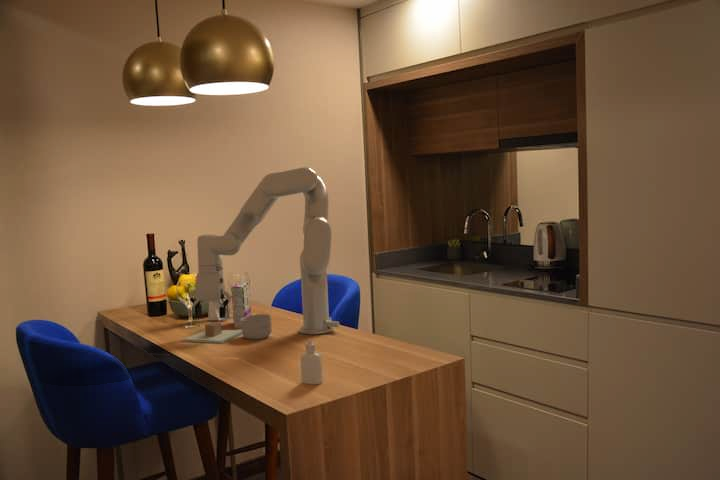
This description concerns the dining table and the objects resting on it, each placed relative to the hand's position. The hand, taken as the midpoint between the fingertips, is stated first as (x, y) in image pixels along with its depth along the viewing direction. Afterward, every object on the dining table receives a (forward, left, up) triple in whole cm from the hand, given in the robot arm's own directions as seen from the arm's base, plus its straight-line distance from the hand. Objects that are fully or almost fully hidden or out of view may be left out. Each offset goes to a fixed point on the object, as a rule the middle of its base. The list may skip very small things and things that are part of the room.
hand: (210, 316), depth 228 cm
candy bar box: (-2, -20, -8) cm, 22 cm away
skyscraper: (+14, -29, -8) cm, 34 cm away
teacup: (-17, -4, -8) cm, 19 cm away
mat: (-1, 0, -8) cm, 8 cm away
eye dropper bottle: (-55, +40, -8) cm, 68 cm away
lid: (-1, 0, -7) cm, 7 cm away
